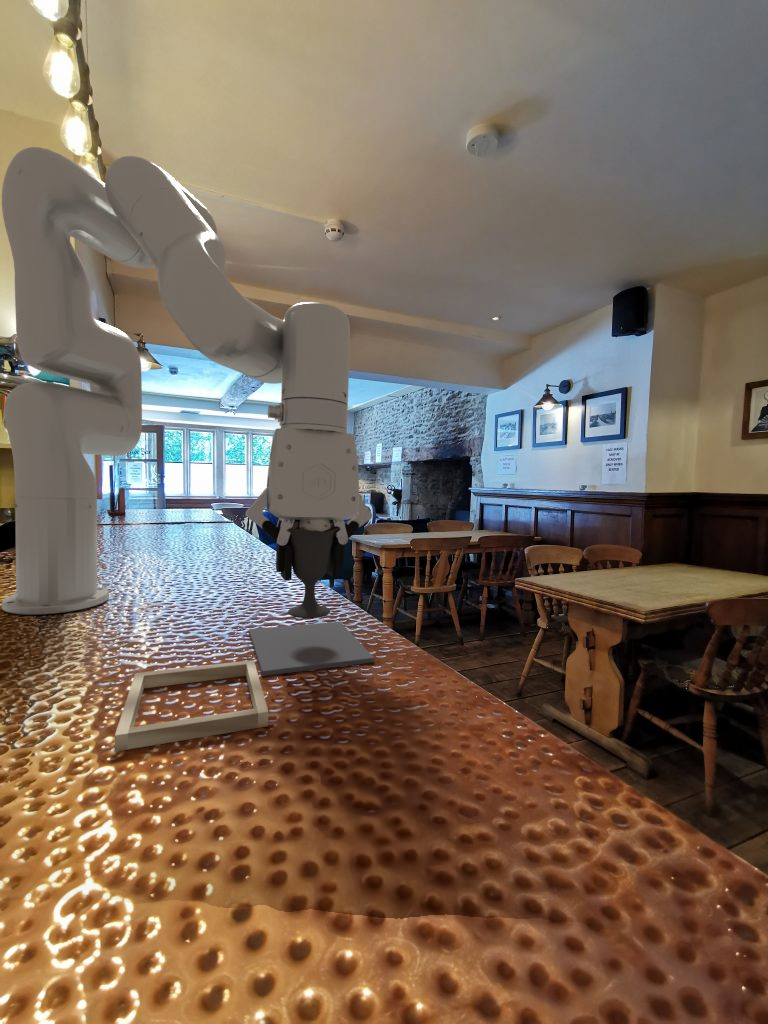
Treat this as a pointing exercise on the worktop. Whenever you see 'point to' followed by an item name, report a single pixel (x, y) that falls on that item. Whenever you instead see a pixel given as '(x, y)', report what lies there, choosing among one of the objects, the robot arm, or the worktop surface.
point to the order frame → (190, 727)
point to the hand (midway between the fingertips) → (309, 575)
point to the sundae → (311, 561)
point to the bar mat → (306, 648)
